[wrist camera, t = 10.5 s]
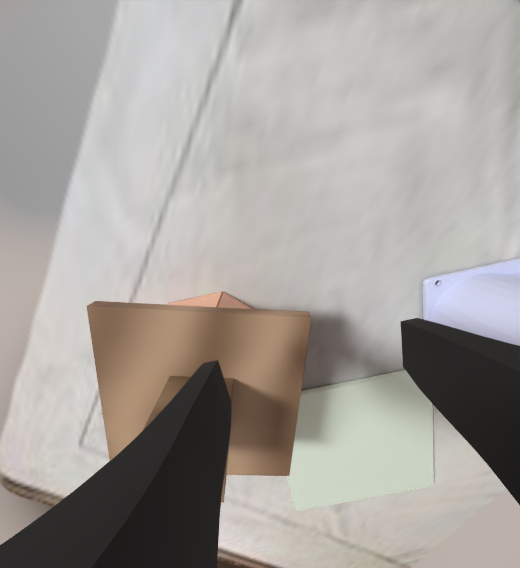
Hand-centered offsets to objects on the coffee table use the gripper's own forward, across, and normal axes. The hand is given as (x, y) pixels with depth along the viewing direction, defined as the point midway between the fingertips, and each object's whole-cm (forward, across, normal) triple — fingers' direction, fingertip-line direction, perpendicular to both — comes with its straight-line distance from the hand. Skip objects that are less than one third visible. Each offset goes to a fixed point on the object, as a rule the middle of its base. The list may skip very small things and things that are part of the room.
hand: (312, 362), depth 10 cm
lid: (+6, +7, +5) cm, 10 cm away
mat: (+10, -4, +18) cm, 21 cm away
